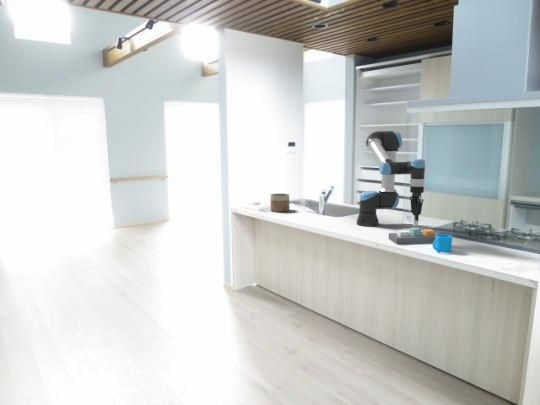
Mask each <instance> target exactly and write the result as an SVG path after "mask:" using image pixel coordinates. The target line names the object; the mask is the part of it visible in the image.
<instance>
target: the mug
mask: <svg viewBox="0 0 540 405" xmlns="http://www.w3.org/2000/svg"><path fill="white" fill-rule="evenodd" d="M432 248H433V249H434V250H435V251H436V252H439V251H440V253H451V252H452V248H453V235H451V234H446V233H437V234H436V239H435V241H434V242H433V243H432Z"/></svg>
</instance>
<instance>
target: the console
mask: <svg viewBox="0 0 540 405" xmlns="http://www.w3.org/2000/svg"><path fill="white" fill-rule="evenodd" d="M407 232H408V236H407V237H399V236H398V235H397V232H389V233H388V240H390V241H391V242H393V243H394V244H395V245H406V244H431V243H432V244H433V242H434V241H435V239H436V234H438V233H437V232H435V231H434V235H431V236H426V235H424V234H423V231H421V236H412V235H410V231H407Z"/></svg>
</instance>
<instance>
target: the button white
mask: <svg viewBox="0 0 540 405" xmlns="http://www.w3.org/2000/svg"><path fill="white" fill-rule="evenodd" d="M408 232H409V231H407V230H405V229H403V230H402V229H400V230H398V229H397V231H396V233H397V235H398V236H399V237H407V236H408Z"/></svg>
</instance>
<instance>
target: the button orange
mask: <svg viewBox="0 0 540 405" xmlns="http://www.w3.org/2000/svg"><path fill="white" fill-rule="evenodd" d="M422 232H423V234H424V235H426V236H431V235H434V232H435V230H433V229H431V228H425V229H423V228H422Z"/></svg>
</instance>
